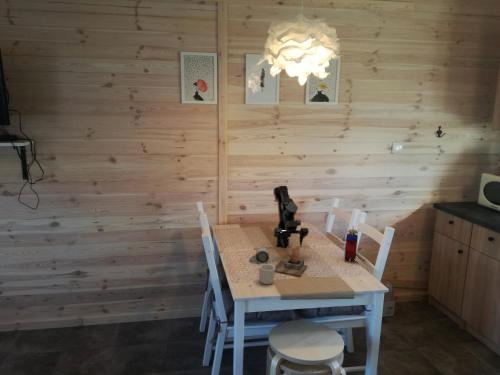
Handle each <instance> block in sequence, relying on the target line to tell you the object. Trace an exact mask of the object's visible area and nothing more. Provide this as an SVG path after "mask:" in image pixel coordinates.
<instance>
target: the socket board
mask: <svg viewBox="0 0 500 375" xmlns="http://www.w3.org/2000/svg"><path fill="white" fill-rule="evenodd" d="M274 266H275V273H277V274H283V275H287V276H292V277H298V278H301V277H302V275H303V274H304V273H305V271H306V269H308V265H307V264H305V260H303V259H298V265H296V264H291V257H288V259H286V261H285V260H280V261H279V262H278V263H276V265H274Z"/></svg>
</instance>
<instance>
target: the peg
mask: <svg viewBox="0 0 500 375" xmlns="http://www.w3.org/2000/svg"><path fill="white" fill-rule="evenodd" d="M290 250H291V252H290V258H291V264H296V265H298V260H299V255H300V245H295V244H294V245H291V249H290Z"/></svg>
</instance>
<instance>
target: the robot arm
mask: <svg viewBox="0 0 500 375" xmlns="http://www.w3.org/2000/svg"><path fill="white" fill-rule="evenodd" d="M288 190H289V188H288V186H287V185H279V186H277V187H274V188H273V190H272V191H273V193H272V194H273V196H274V199H275V200H276V202H277V207H278V211H277V212H278V219H279V220H278V221H279V223H278V224H277V226H276V227H275V228H274V230H273V237H275V238H276V246H275V247H277V248H283V249H286V248H288V247H289V246H290V238H291V236H292V235H293V234H294V235H299V248H300V247H302V246H303V240H304V238H305V237H307V236H308V235H309V233H310V230H309V228H308V227H301V228H300V229H298V227H299V226H301V225H302V221H301V219H295V216H296V214H297V212H298V209H299V208H298V205H297V204H296V203H295V201H294V200H293V199H292V198H290V195H289V191H288Z"/></svg>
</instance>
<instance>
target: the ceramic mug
mask: <svg viewBox="0 0 500 375" xmlns="http://www.w3.org/2000/svg"><path fill="white" fill-rule="evenodd" d="M269 260H270V252H269V250H268V249H267V248H266V247H265V246H264V247H263V246H262V247H259V248H258V249H257V250H256V252H255V254H253V255H252V256H250V257H249V261H250V262H252V263H253V262H256V263H258V264H259V265H261V264H268V262H269Z"/></svg>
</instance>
